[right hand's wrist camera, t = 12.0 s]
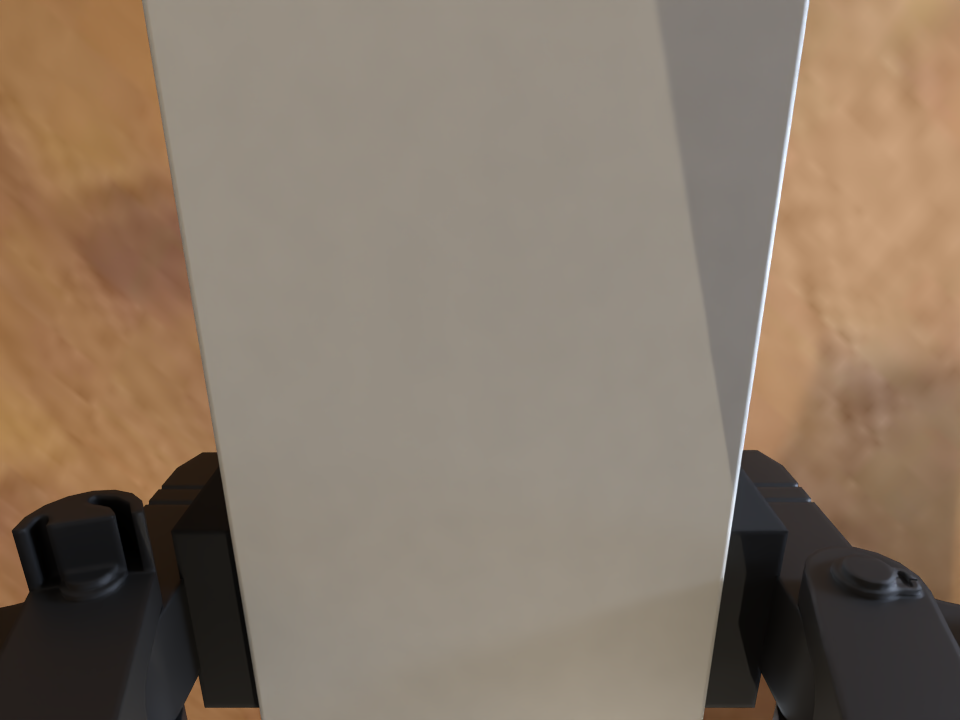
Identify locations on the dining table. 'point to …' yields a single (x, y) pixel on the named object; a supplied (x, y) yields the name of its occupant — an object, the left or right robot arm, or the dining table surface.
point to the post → (478, 335)
